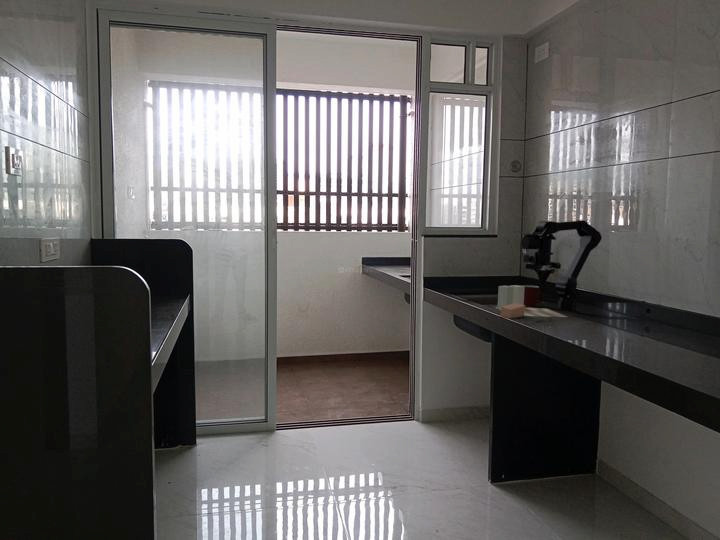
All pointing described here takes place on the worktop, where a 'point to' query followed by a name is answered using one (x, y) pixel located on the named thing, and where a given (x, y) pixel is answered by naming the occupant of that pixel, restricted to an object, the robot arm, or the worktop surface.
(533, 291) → the mug
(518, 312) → the terracotta block
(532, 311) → the maple board
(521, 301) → the cream block
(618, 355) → the worktop surface
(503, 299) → the sage block
